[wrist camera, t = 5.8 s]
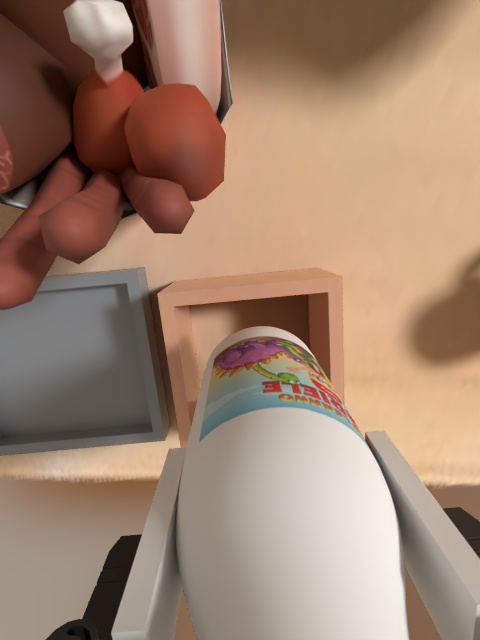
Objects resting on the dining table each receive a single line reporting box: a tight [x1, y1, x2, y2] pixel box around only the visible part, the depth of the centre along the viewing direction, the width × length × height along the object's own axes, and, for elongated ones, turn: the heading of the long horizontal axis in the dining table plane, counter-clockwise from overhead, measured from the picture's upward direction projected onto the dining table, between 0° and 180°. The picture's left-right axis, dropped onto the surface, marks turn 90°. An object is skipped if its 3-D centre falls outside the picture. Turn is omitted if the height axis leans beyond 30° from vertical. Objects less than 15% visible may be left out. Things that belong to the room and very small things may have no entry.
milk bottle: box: [176, 326, 410, 640], centre depth 13 cm, size 8×8×20 cm
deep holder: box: [157, 268, 344, 448], centre depth 28 cm, size 13×13×7 cm
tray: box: [0, 267, 170, 456], centre depth 30 cm, size 16×17×2 cm
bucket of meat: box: [0, 0, 233, 310], centre depth 17 cm, size 20×16×20 cm
